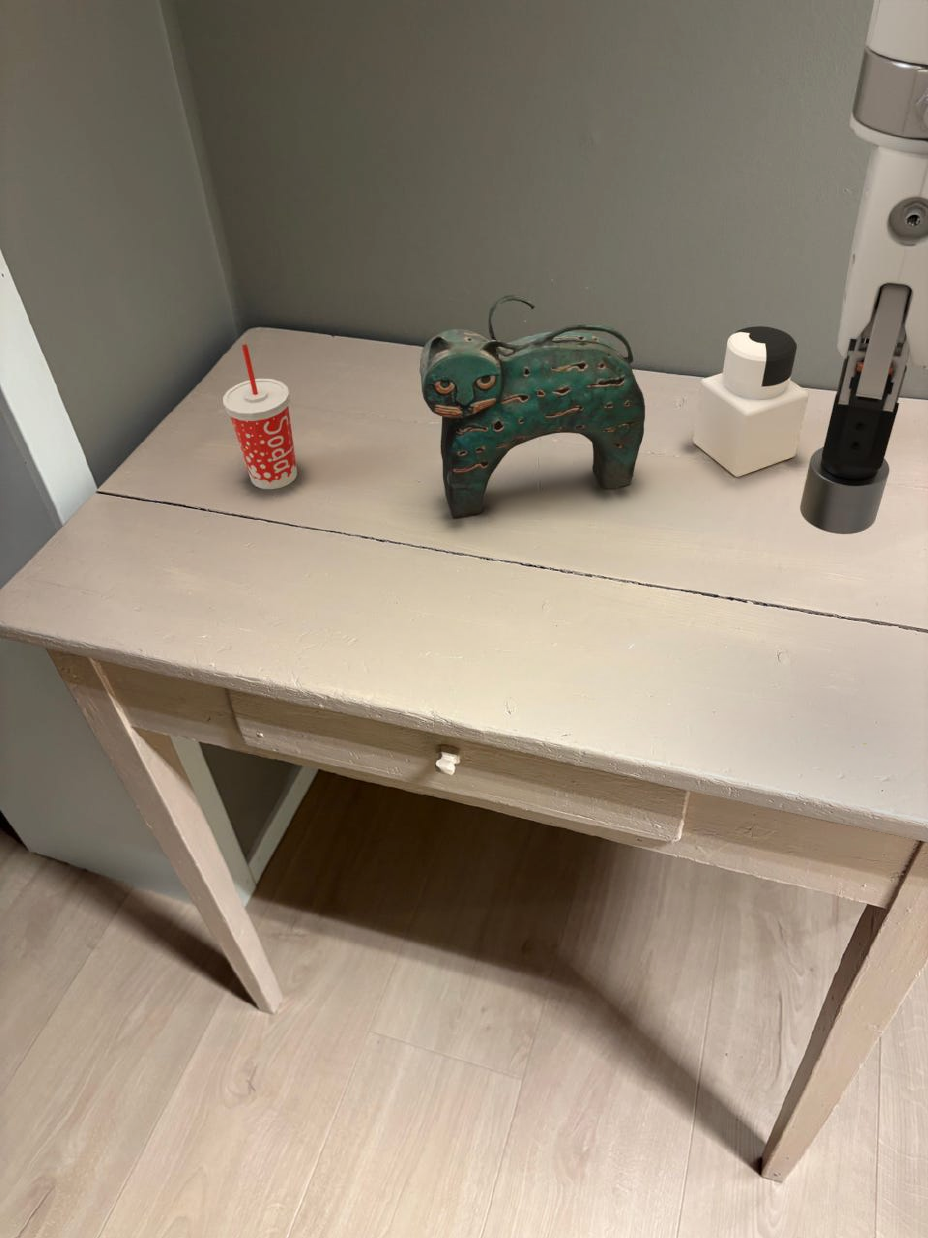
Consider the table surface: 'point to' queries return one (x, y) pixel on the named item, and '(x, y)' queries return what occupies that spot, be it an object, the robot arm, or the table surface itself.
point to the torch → (843, 488)
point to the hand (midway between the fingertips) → (856, 441)
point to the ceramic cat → (529, 402)
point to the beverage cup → (263, 428)
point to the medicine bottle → (752, 403)
